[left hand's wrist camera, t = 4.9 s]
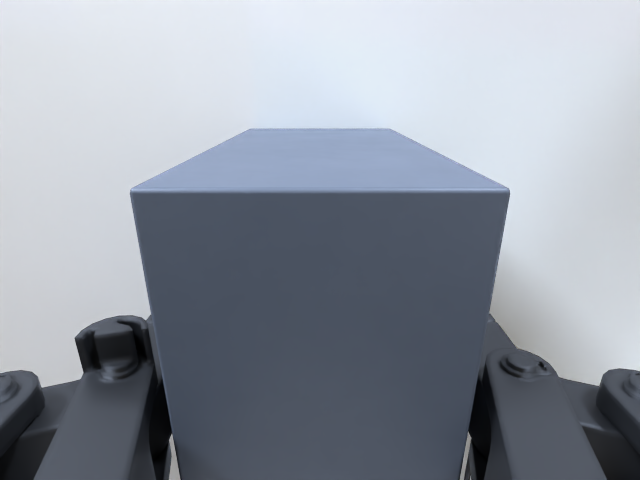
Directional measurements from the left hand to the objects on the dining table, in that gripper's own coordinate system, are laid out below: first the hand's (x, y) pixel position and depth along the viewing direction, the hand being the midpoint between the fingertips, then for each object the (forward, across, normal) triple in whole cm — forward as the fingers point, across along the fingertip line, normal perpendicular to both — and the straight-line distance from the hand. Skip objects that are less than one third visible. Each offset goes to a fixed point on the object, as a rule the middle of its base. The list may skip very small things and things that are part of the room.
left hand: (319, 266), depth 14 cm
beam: (+1, 0, -22) cm, 22 cm away
